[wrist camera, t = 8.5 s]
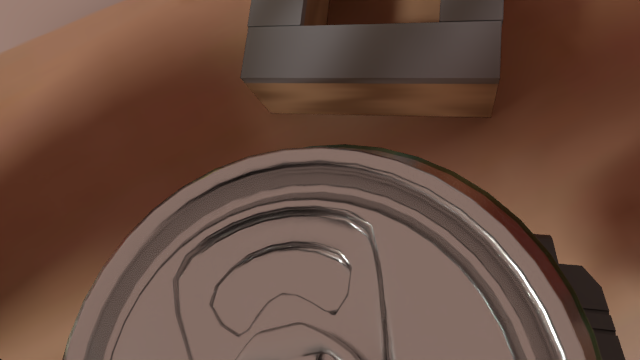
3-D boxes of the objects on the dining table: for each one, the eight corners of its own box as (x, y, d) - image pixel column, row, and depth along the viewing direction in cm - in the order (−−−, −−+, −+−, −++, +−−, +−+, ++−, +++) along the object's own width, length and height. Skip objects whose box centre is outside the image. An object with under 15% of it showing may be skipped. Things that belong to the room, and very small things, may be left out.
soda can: (458, 241, 16) (519, 30, 4) (512, 418, 14) (833, 815, 3) (300, 280, 16) (-2, 190, 5) (336, 454, 15) (17, 887, 3)
